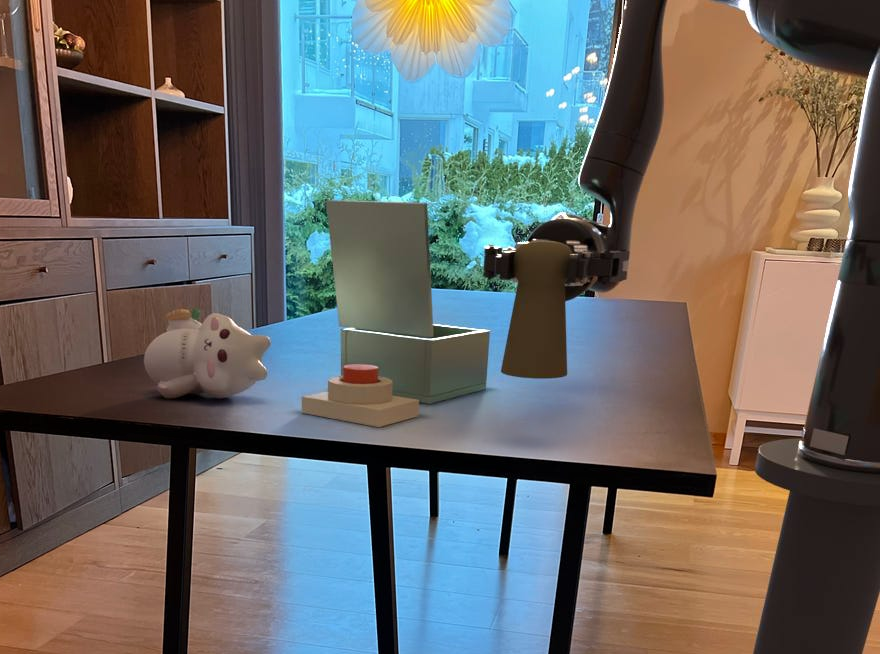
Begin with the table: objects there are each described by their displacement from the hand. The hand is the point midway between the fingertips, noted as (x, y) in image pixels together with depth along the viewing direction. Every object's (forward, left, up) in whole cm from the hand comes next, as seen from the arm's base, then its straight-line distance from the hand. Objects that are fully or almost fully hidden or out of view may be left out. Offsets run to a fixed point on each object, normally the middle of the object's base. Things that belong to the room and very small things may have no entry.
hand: (538, 267), depth 76 cm
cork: (+1, -2, -9) cm, 10 cm away
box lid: (+24, -10, -2) cm, 26 cm away
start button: (+20, -2, -12) cm, 23 cm away
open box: (+24, -18, -15) cm, 33 cm away
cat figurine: (+38, +2, -16) cm, 41 cm away
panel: (+20, -2, -15) cm, 25 cm away
